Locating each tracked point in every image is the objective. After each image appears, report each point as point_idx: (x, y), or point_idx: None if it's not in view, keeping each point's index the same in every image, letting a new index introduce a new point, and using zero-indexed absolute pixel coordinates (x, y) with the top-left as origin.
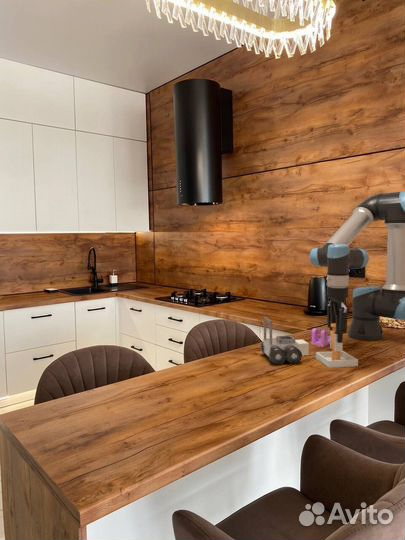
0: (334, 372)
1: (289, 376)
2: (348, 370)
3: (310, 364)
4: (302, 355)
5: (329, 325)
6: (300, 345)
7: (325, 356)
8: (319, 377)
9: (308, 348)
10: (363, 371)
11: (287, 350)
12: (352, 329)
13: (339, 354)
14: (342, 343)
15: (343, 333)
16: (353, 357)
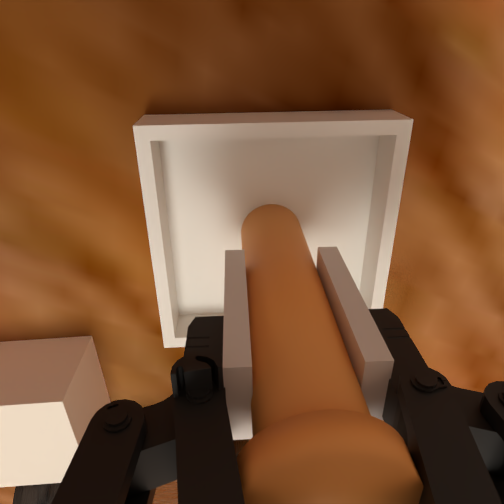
0: (441, 304)
1: None
2: (441, 214)
3: None
4: (100, 369)
5: (152, 492)
6: (82, 436)
7: (171, 269)
8: (476, 390)
9: (76, 370)
10: (499, 122)
11: None
12: None
13: (306, 243)
14: (354, 284)
15: (431, 370)
16: (347, 129)
